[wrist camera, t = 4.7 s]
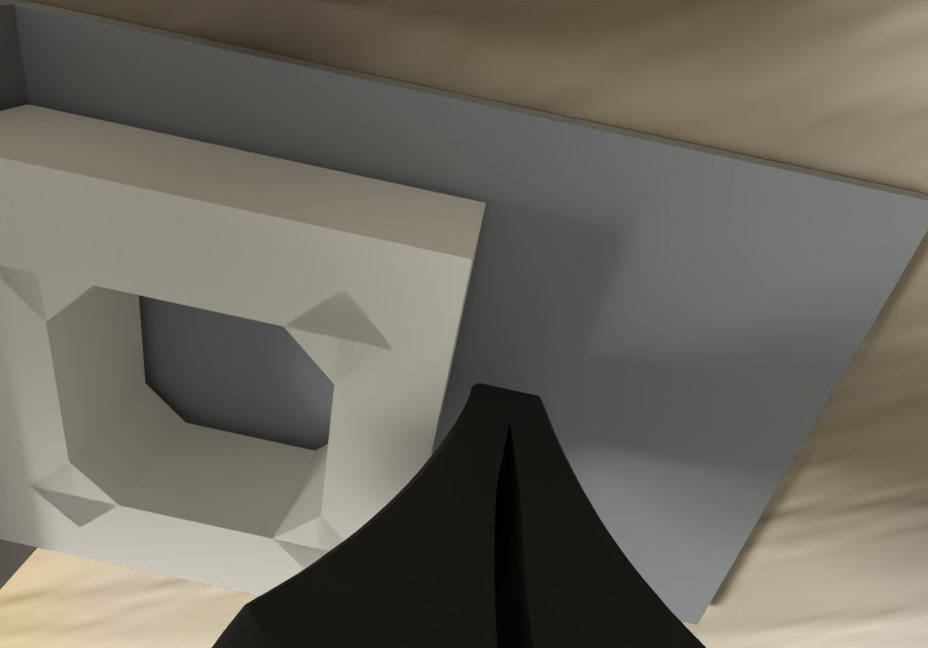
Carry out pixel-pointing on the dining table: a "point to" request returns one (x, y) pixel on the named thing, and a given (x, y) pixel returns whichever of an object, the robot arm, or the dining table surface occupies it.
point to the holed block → (225, 291)
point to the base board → (527, 275)
